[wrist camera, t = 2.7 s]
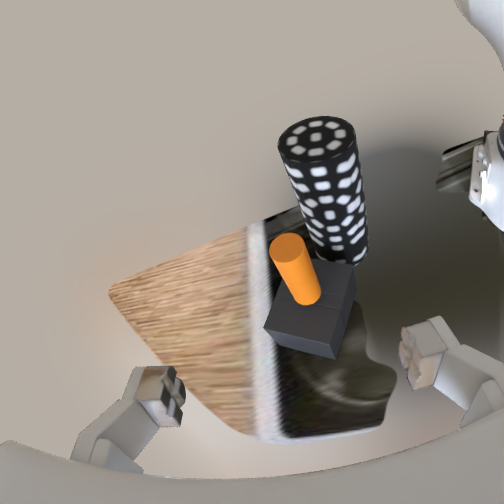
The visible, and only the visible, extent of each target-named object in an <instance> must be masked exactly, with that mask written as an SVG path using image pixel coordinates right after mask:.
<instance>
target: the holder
mask: <svg viewBox="0 0 504 504" xmlns="http://www.w3.org/2000/svg"><path fill="white" fill-rule="evenodd" d="M310 259H311V258H310ZM311 262H312V265H313V267H314V270H315V273H316V276H317V279H318V281H319V284H320V287H321V295H320V297H319V299H318V300H317V301H316V302H315V303H314V304H310V305H301V304H299V303H298V302H296V301H295V299H294V297H293V295H292V294H291V292H290V290H289V288H288V286H287V285H286V283H285V281H284V279H283V278H282V281H281V284H280V286H279V289H278V292H277V294H276V297H275V299H274V302H273V305H272V307H271V310H270V312H269V315H268V317H267V320H266V322H265V325H264V327H263V328H264V329H265V330H266V331H267V332H268V334H269V335H270V336H271V337H272V338H273V339H274V340H275V341H276V342H277V343H278V344H279V345H281V346H285V347H288V348H292V349H296V350H299V351H303V352H307V353H311V354H315V355H318V356H322V357H326V358H331V359H335V360H336V358H337V355H338V352H339V349H340V346H341V342H342V339H343V336H344V332H345V329H346V326H347V322H348V318H349V315H350V312H351V308H352V305H353V301H354V297H355V293H356V286H355V279H354V271H353V265H350V264H344V263H337V262H331V261H324V260H318V259H311Z"/></svg>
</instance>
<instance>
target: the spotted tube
mask: <svg viewBox="0 0 504 504" xmlns="http://www.w3.org/2000/svg"><path fill="white" fill-rule="evenodd" d="M278 150H279V153H280V155H281V157H282V160H283V163H284V165H285V168H286V171H287V173H288V176H289V179H290V181H291V184H292V186H293V189H294V192H295V195H296V197H297V200H298V203H299V206H300V209H301V211H302V214H303V217H304V220H305V223H306V226H307V229H308V231H309V234H310V237H311V240H312V243H313V246H314V249H315V252H316V255H317V257H318V259H319V260H324V261H331V262H337V263H344V264H350V265H353V267H354V266H355V265H357V264H359V263H360V262H361V261H362V260H363V259H364V258H365V256H366V254H367V252H368V248H369V239H368V227H367V216H366V206H365V196H364V188H363V180H362V172H361V165H360V159H359V152H358V146H357V140H356V134H355V130H354V128H353V126H352V125H351V124H350V123H349V122H347V121H345V120H343V119H341V118H337V117H331V116H319V117H312V118H308V119H305V120H302V121H299V122H297V123H295V124H294V125H292V126H290V127H289V128H288V129H287V130H285V131H284V132H283V133H282V135H281V136H280V138H279V141H278Z"/></svg>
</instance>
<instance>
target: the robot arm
mask: <svg viewBox="0 0 504 504" xmlns="http://www.w3.org/2000/svg"><path fill="white" fill-rule="evenodd" d="M454 1H455V3H456V5H457V7H458V8H459V10H460V12H461V13H462V14H463V16H464V17H465V18H466V19H467V20H468V21H469V22H470V24H471V25H473V26H474V27H475V28H476V29H477V30H478V31H479V32H480V33H481V34H482V35H483V36H484V37H485V38H486V39H487V40H488V41H489V43H490V44H491V45H492V47H493V48H494V50H495V51H496V53H497V55H498V57H499V59H500V62H501V64H502V67H503V70H504V0H454ZM503 116H504V115H503ZM502 120H503V121H504V119H502ZM483 142H484V144H485V145H478V146H475V147H474V150H473V159H472V170H471V180H470V188H469V196H468V197H469V200H470V201H471V202H472V203H474V204H475V205H476V206H478V207H479V208H481V209H482V210H483V211H484V213H485V214H486V215H487V217H488V218H489V219H490V220H491V222H492V223H493V224H494V225H495V226H497V227H498V228H499V229H500V230H502V231H503V232H504V122H503V123H502V125H501V127H500V128H499V131H498V132H497V131H485V132H484V138H483ZM400 335H401V337H402V339H403V340H402V341H401V342H400V344H399V349H398V352H399V359H400V363H401V365H402V368H404V369H405V370H407V371H408V374H407V379H408V382H409V383H410V386H411V389H412V391H415V390H419V389H422V388H425V387H428V386H432V385H434V387H435V388H437V389H438V390H440V391H441V392H442V393H444V394H445V395H446V396H448V397H449V398H450V399H452V400H453V401H454V402H456V403H457V404H459V405H460V406H461V407H463V408H464V409H465V410H466V411H467V412H466V414H465V415H464V417H463V419H462V420H461V422H460V424H459V425H460V428H461V429H459V430H456V431H454V432H452V433H449V434H447V435H444V436H442V437H439V438H437V439H434V440H432V441H429V442H426V443H424V444H421V445H418V446H415V447H413V448H409V449H406V450H403V451H400V452H397V453H394V454H390V455H387V456H383V457H380V458H376V459H373V460H369V461H364V462H360V463H356V464H352V465H347V466H343V467H337V468H332V469H327V470H321V471H315V472H309V473H302V474H293V475H285V476H275V477H262V478H245V479H196V478H178V477H165V476H155V475H147V474H143V469H142V468H141V467H140V466H139V465H138V464H137V463H135V462H134V460H135V458H136V457H137V456H138V455H139V453H140V452H141V451H142V450H143V449H144V447H145V446H146V445H147V444H148V442H149V441H150V440H151V439H152V438H153V436H154V435H155V434H156V433H157V431H158V430H159V429H160V427H180V425H181V420H182V415H183V412H182V410H181V409H180V407H181V406H182V405H183V404H184V403H185V398H186V392H185V387H184V384H183V382H182V380H181V379H179V378H178V377H176V373H177V372H176V370H175V369H174V367H173V366H147V367H135V368H134V369H133V370H132V373H131V375H130V378H129V381H128V383H127V386H126V389H125V391H124V394H123V397H122V400H117V401H116V402H115V403H114V404H113V405H112V406H111V407H109V408H108V409H107V410H106V411H105V412H104V413H102V414H101V415H100V416H99V417H98V418H97V419H96V420H95V421H93V422H92V423H91V424H90V425H89V426H88V427H86V428H85V429H84V430H83V431H82V432H81V433H80V434H79V436H78V438H77V441H76V443H75V446H74V449H73V451H72V454H71V457H70V459H66V458H63V457H59V456H56V455H52V454H49V453H46V452H43V451H40V450H37V449H34V448H31V447H28V446H26V445H23V444H21V443H18V442H15V441H12V440H8V441H6V442H4V443H2V444H0V504H504V363H501V362H500V361H498V360H496V359H493V358H491V357H489V356H487V355H485V354H483V353H481V352H479V351H477V350H475V349H473V348H471V347H469V346H467V345H465V344H463V345H460V343H459V342H458V340H457V339H456V337H455V336H454V334H453V333H452V331H451V330H450V328H449V327H448V326H447V324H446V323H445V321H444V320H443V318H442V317H441V316H437V317H434V318H431V319H428V320H424V321H421V322H417V323H414V324H411V325H407V326H404V327H402V329H401V334H400Z"/></svg>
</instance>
